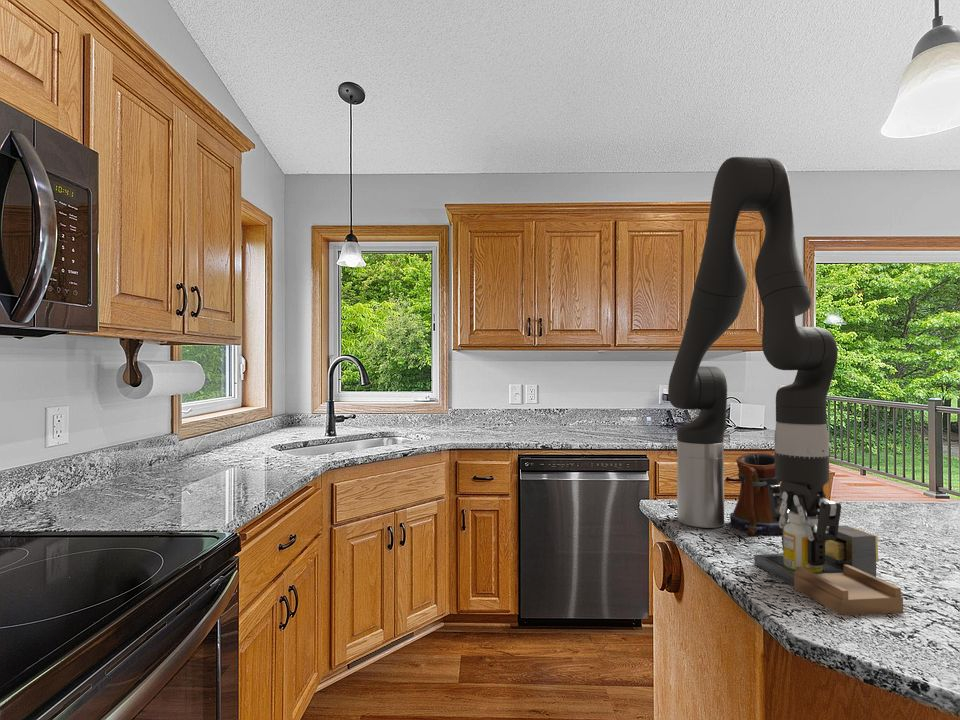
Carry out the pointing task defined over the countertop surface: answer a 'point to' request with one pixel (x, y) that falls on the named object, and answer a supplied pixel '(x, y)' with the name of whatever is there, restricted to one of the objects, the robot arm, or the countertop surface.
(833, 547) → the tan boxy piece
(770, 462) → the mug
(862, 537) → the block
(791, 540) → the supplement bottle
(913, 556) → the countertop surface
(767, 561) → the socket collar
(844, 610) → the wooden tray
